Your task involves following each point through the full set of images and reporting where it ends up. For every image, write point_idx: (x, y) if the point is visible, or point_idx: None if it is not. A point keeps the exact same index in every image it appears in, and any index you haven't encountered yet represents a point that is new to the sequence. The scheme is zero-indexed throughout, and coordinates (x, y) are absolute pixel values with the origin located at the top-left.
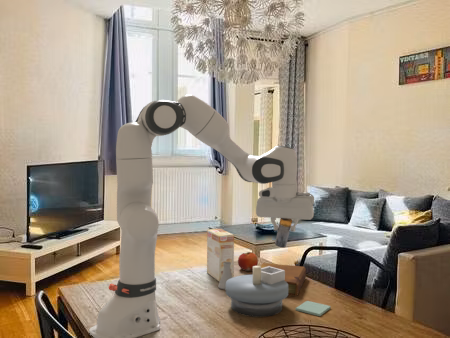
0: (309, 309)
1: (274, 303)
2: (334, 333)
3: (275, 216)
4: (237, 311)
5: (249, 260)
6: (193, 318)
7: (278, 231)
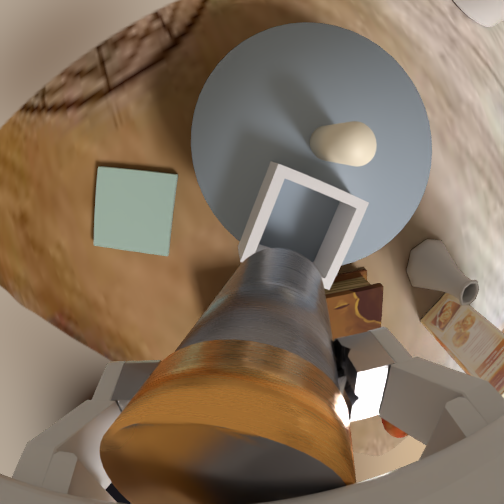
0: (134, 185)
1: None
2: (47, 83)
3: (479, 453)
4: None
5: None
6: (408, 16)
7: (317, 315)
